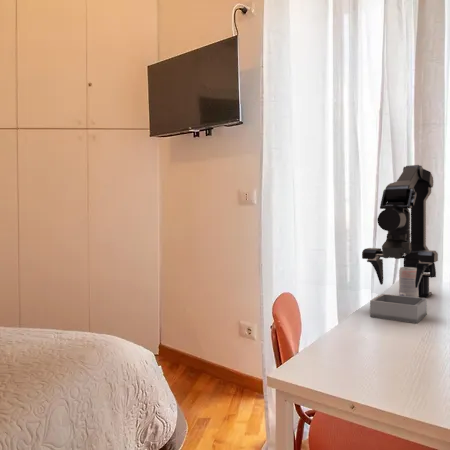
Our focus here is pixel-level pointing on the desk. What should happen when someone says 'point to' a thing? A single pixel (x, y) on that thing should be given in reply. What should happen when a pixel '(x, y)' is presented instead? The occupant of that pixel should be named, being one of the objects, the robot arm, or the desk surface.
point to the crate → (398, 308)
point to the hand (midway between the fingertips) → (398, 285)
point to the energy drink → (408, 282)
